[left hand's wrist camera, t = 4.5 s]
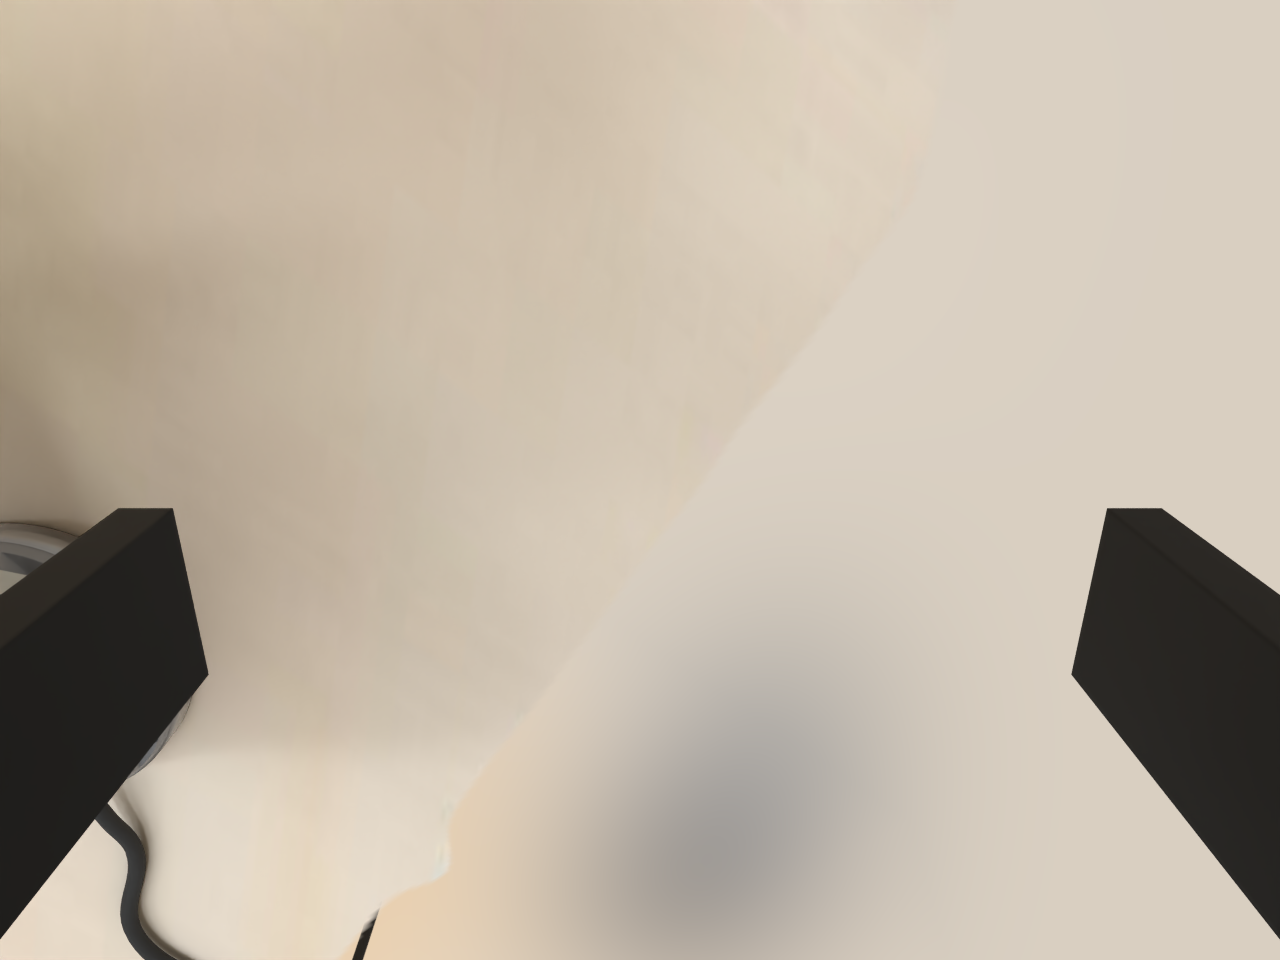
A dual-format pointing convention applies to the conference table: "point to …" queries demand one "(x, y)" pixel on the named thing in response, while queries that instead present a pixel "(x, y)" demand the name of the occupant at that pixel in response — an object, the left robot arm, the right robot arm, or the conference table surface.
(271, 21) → the conference table surface
